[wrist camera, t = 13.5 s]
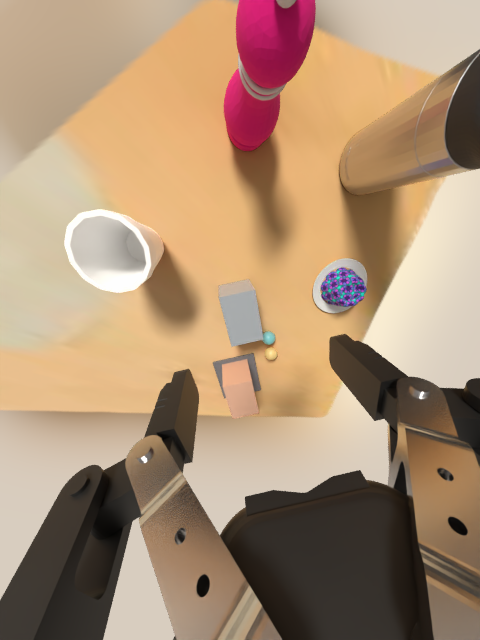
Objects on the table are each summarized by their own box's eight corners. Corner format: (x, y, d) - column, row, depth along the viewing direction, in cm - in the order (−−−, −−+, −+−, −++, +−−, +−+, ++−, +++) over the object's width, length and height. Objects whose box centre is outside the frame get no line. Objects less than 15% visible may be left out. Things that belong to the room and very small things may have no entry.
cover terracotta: (247, 358, 47) (251, 380, 41) (253, 388, 52) (259, 412, 45) (222, 364, 47) (222, 387, 41) (230, 394, 52) (232, 418, 45)
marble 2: (274, 343, 47) (278, 350, 44) (276, 353, 48) (279, 361, 45) (262, 346, 47) (265, 353, 44) (264, 356, 48) (267, 364, 45)
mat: (253, 353, 47) (253, 354, 47) (260, 388, 53) (261, 390, 52) (212, 362, 47) (212, 363, 47) (224, 397, 52) (224, 398, 52)
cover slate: (248, 279, 39) (255, 289, 33) (256, 322, 44) (263, 339, 37) (218, 285, 39) (218, 297, 33) (229, 328, 44) (231, 346, 37)
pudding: (369, 254, 40) (390, 258, 36) (359, 308, 45) (376, 317, 41) (313, 261, 40) (326, 265, 35) (309, 314, 45) (320, 325, 40)
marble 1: (272, 327, 45) (276, 334, 42) (274, 338, 46) (277, 345, 43) (259, 330, 45) (262, 337, 42) (261, 341, 46) (264, 348, 43)
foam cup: (182, 260, 37) (165, 275, 25) (139, 280, 37) (103, 304, 26) (153, 206, 33) (116, 193, 21) (105, 230, 33) (44, 231, 22)
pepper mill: (271, 92, 28) (366, -148, 10) (269, 155, 31) (340, 57, 13) (221, 91, 28) (227, -164, 10) (224, 155, 31) (234, 54, 13)
